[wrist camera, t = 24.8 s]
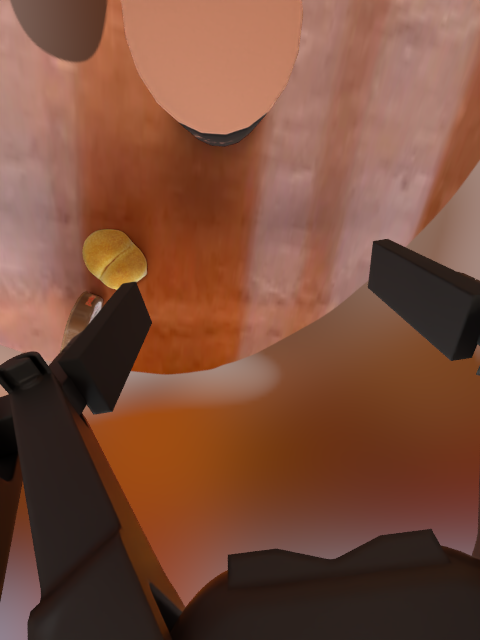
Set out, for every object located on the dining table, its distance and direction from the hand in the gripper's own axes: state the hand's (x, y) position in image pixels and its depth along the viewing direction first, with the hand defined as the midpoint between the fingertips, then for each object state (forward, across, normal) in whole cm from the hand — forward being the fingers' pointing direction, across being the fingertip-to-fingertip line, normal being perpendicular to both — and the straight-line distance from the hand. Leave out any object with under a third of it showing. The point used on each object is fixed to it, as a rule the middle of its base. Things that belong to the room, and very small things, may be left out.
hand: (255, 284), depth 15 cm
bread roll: (+27, -19, -4) cm, 33 cm away
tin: (+27, -28, -14) cm, 41 cm away
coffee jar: (+27, 0, +13) cm, 30 cm away
